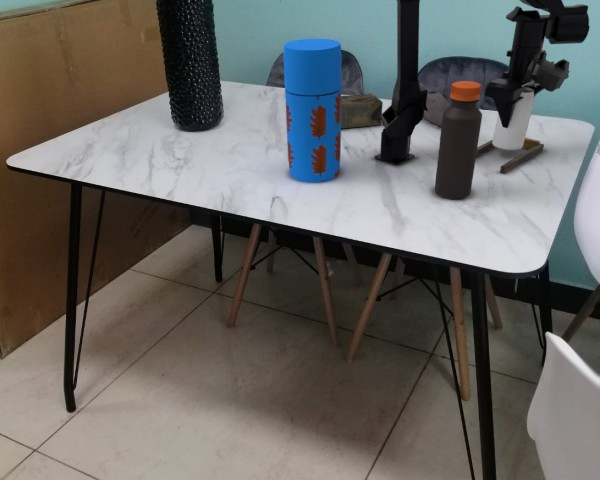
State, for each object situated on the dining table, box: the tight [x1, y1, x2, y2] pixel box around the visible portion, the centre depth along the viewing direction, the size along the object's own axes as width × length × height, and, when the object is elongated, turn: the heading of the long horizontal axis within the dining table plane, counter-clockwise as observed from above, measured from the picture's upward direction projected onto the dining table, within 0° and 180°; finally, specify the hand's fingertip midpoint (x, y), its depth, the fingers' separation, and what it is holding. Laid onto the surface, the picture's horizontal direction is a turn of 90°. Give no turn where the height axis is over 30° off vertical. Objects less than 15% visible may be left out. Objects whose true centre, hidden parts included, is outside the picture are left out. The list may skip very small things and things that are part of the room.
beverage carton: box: [341, 92, 384, 129], centre depth 143 cm, size 8×19×7 cm, turn 102°
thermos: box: [282, 38, 343, 183], centre depth 113 cm, size 11×11×25 cm
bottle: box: [434, 80, 483, 200], centre depth 104 cm, size 7×7×20 cm
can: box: [491, 87, 536, 152], centre depth 121 cm, size 6×6×12 cm
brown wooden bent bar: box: [476, 137, 545, 175], centre depth 123 cm, size 17×10×2 cm, turn 135°
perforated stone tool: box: [423, 87, 451, 128], centre depth 142 cm, size 15×5×7 cm, turn 14°
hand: (512, 124), depth 121 cm, fingers closed on can, 6 cm apart
